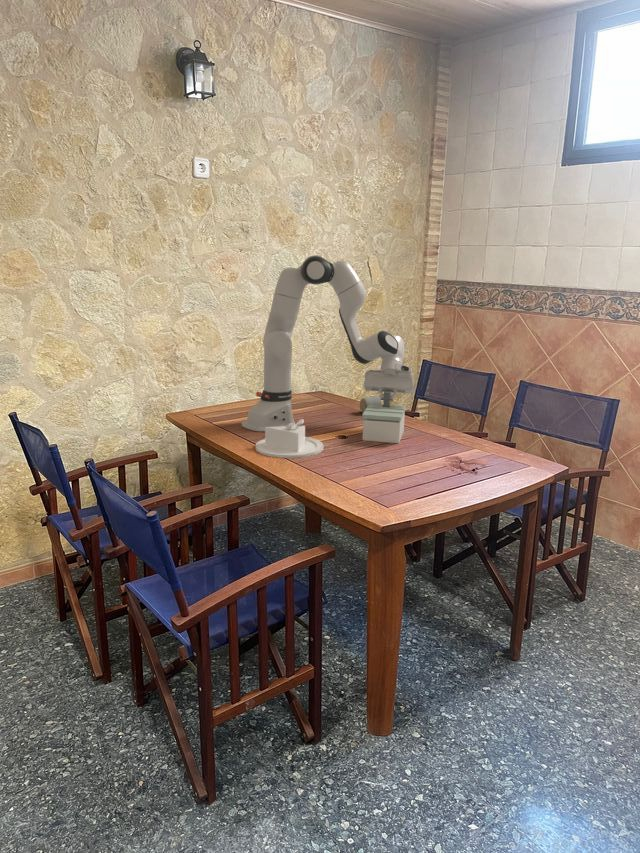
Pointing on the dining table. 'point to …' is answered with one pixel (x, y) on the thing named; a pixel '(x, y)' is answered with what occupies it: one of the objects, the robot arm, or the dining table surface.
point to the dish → (288, 442)
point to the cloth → (455, 464)
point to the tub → (383, 430)
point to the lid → (384, 410)
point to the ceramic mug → (369, 402)
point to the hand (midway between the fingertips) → (386, 399)
